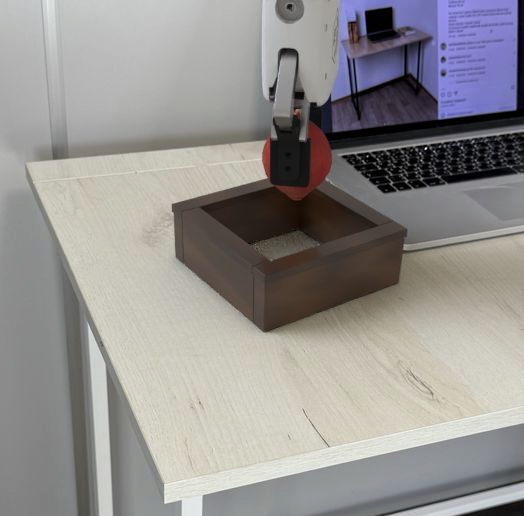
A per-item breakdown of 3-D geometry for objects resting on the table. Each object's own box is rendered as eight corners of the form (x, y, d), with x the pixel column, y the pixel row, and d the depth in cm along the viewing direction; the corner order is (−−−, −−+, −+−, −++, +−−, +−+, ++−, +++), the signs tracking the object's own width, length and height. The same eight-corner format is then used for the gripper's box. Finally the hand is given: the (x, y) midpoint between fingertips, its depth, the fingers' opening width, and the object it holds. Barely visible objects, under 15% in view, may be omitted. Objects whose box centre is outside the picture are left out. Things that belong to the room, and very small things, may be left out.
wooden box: (302, 218, 88) (305, 167, 85) (401, 283, 78) (408, 228, 75) (173, 256, 81) (171, 203, 78) (263, 333, 72) (265, 276, 68)
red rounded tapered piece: (250, 192, 77) (249, 102, 72) (308, 179, 79) (310, 91, 74) (282, 219, 73) (283, 126, 68) (342, 205, 75) (347, 113, 70)
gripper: (338, -37, 56) (327, 218, 67) (364, -85, 70) (352, 133, 80) (223, -41, 57) (230, 210, 68) (271, -88, 71) (271, 127, 82)
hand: (296, 166), depth 74 cm, fingers closed on red rounded tapered piece, 6 cm apart
